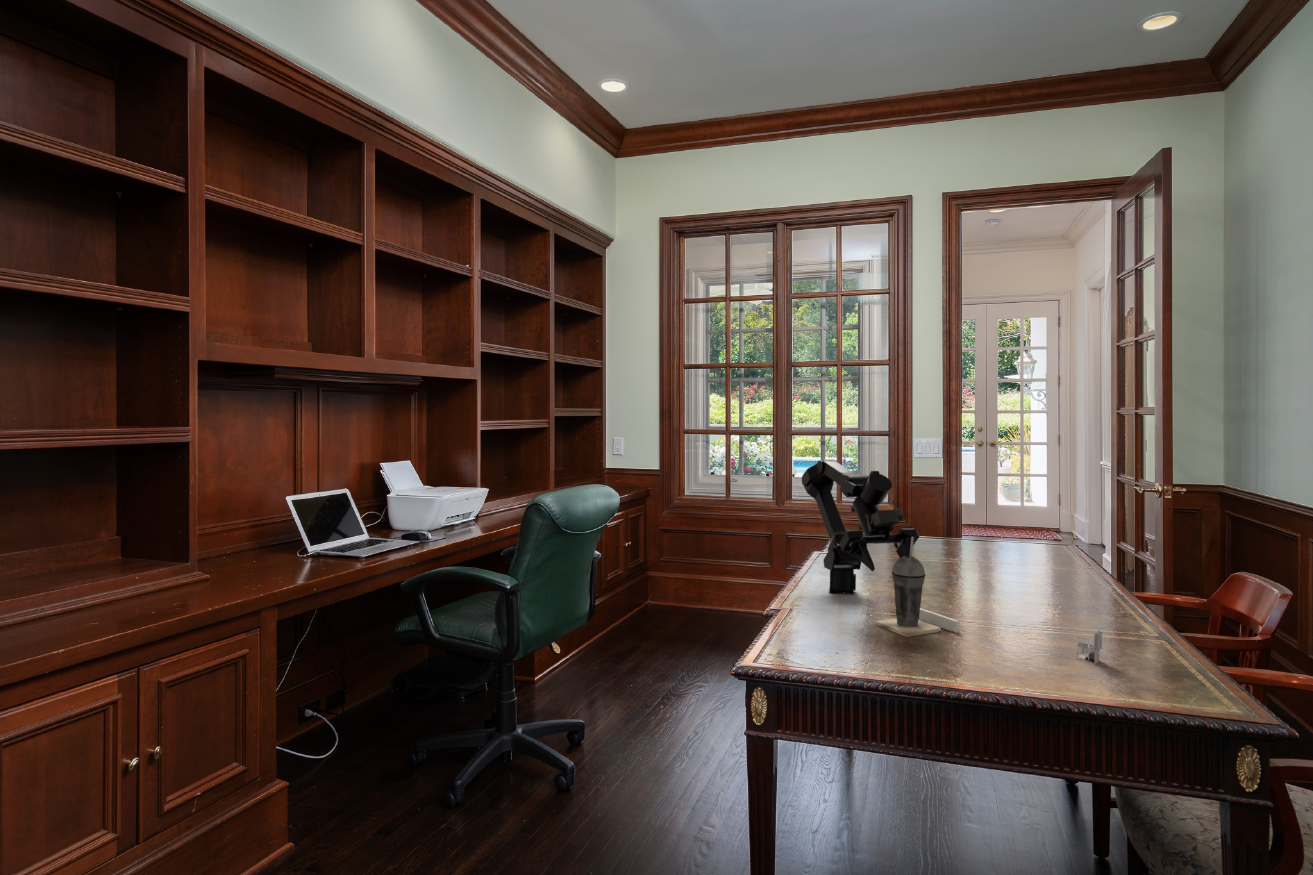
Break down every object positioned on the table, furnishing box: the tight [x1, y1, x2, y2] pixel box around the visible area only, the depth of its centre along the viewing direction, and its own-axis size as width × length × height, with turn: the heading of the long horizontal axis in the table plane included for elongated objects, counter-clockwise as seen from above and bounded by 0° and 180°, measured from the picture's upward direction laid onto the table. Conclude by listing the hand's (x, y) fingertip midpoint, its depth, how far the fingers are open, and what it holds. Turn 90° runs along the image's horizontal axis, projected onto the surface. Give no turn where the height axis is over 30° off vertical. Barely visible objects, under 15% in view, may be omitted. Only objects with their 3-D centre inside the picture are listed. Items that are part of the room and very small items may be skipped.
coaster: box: [874, 617, 942, 638], centre depth 163 cm, size 10×10×1 cm
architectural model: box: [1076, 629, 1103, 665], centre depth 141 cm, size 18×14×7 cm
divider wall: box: [919, 607, 960, 634], centre depth 166 cm, size 14×1×2 cm, turn 25°
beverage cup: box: [891, 537, 926, 627], centre depth 163 cm, size 7×7×20 cm
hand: (891, 569), depth 170 cm, fingers open, 9 cm apart
